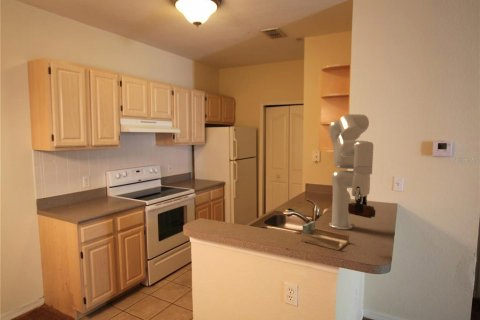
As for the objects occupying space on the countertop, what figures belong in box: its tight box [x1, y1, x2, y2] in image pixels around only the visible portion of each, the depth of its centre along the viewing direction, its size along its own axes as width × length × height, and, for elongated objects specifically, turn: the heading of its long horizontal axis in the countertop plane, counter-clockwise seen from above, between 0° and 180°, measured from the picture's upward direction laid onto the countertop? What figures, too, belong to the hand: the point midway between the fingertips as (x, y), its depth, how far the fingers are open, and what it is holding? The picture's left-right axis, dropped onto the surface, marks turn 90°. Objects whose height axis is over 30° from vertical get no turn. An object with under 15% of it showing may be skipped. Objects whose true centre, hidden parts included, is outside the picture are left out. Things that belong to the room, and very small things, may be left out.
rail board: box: [300, 220, 350, 251], centre depth 138 cm, size 13×18×7 cm
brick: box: [348, 202, 376, 219], centre depth 127 cm, size 11×4×5 cm, turn 41°
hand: (360, 210), depth 128 cm, fingers closed on brick, 4 cm apart
